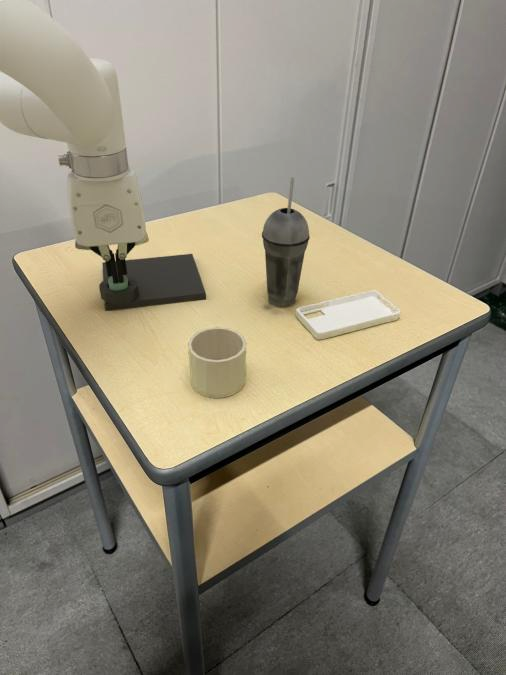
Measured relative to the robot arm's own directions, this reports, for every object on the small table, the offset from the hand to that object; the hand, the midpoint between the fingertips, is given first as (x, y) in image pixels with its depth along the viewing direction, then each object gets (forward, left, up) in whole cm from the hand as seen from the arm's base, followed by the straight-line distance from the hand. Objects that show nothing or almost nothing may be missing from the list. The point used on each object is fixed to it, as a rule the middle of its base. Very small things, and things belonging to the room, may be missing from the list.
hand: (118, 278), depth 81 cm
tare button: (0, 0, -2) cm, 2 cm away
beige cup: (+11, -23, -4) cm, 26 cm away
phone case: (+34, -13, -4) cm, 37 cm away
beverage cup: (+25, -6, -4) cm, 26 cm away
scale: (+5, +4, -4) cm, 8 cm away
